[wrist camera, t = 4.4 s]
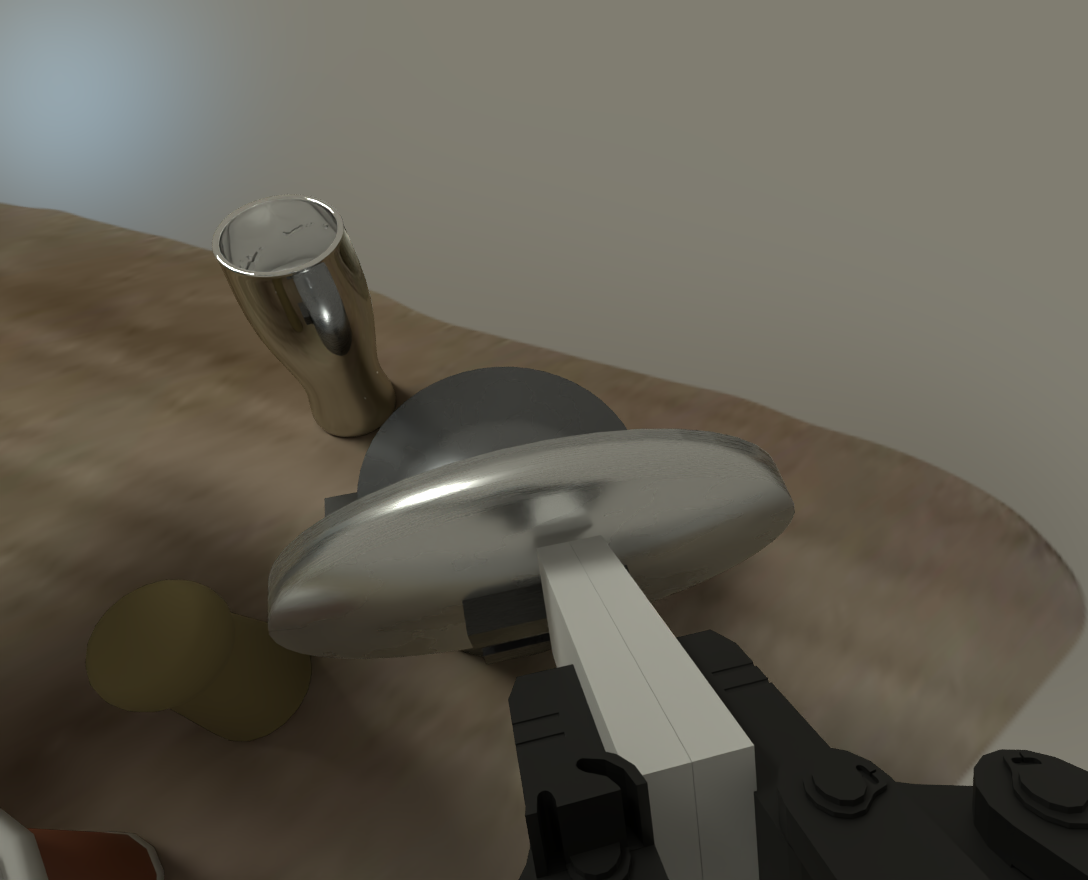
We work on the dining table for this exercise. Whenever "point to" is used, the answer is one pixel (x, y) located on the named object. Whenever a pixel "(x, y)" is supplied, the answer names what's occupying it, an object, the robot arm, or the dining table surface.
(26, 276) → the dining table surface
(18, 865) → the coffee cup
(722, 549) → the lid
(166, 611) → the cork
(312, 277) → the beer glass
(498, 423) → the cooker pot
